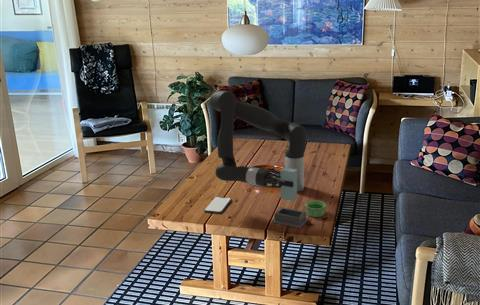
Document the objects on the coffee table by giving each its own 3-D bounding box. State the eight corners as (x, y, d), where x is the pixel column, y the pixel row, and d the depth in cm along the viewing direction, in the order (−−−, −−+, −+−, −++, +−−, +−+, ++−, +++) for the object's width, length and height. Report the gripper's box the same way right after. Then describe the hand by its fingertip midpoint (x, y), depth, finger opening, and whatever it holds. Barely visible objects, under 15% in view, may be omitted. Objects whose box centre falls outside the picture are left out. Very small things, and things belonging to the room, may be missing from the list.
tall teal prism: (283, 195, 224) (284, 167, 220) (296, 198, 221) (297, 169, 217) (280, 198, 221) (280, 170, 217) (293, 201, 219) (293, 172, 214)
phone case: (221, 215, 234) (232, 200, 248) (221, 212, 233) (232, 197, 248) (203, 213, 236) (215, 199, 251) (203, 210, 236) (215, 196, 250)
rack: (280, 214, 231) (280, 206, 230) (308, 219, 225) (308, 211, 224) (272, 222, 224) (272, 213, 223) (300, 228, 218) (300, 219, 217)
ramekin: (301, 214, 231) (301, 205, 230) (312, 207, 237) (312, 198, 236) (318, 219, 225) (318, 210, 224) (329, 212, 232) (329, 203, 230)
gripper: (250, 173, 219) (288, 180, 211) (265, 163, 230) (301, 169, 222) (251, 190, 221) (288, 197, 213) (265, 179, 233) (301, 185, 225)
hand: (294, 183), depth 218 cm, fingers closed on tall teal prism, 3 cm apart
